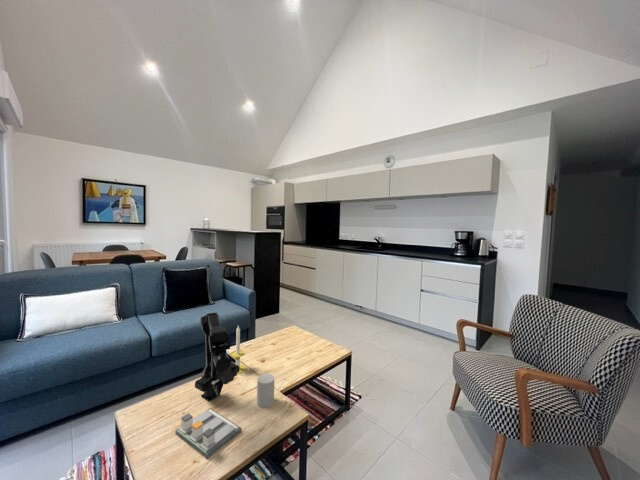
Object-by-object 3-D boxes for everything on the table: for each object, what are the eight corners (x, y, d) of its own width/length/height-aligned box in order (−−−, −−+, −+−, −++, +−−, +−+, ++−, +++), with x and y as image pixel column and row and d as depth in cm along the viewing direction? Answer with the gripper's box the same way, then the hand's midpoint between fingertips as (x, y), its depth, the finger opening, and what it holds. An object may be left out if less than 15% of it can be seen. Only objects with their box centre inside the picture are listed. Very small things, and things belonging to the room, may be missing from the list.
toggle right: (202, 443, 101) (202, 432, 101) (209, 438, 104) (209, 427, 104) (207, 446, 100) (207, 436, 100) (214, 441, 102) (214, 431, 102)
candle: (239, 363, 165) (239, 320, 164) (250, 368, 159) (250, 324, 158) (225, 370, 157) (225, 325, 155) (236, 376, 151) (236, 329, 150)
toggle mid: (191, 434, 105) (191, 424, 105) (198, 430, 108) (198, 420, 108) (196, 438, 104) (196, 428, 103) (203, 433, 106) (203, 423, 106)
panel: (175, 433, 109) (175, 428, 109) (209, 411, 123) (209, 406, 122) (207, 458, 98) (207, 452, 98) (241, 431, 111) (241, 425, 111)
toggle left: (181, 427, 109) (181, 417, 109) (188, 422, 112) (188, 413, 111) (185, 430, 108) (185, 420, 107) (192, 425, 110) (192, 416, 110)
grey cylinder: (270, 409, 125) (270, 384, 124) (254, 406, 127) (254, 382, 126) (276, 398, 133) (276, 375, 132) (261, 395, 135) (261, 372, 134)
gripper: (211, 376, 103) (210, 415, 103) (248, 356, 118) (247, 390, 119) (194, 367, 109) (193, 404, 109) (231, 349, 124) (231, 382, 125)
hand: (218, 395), depth 116 cm, fingers closed
